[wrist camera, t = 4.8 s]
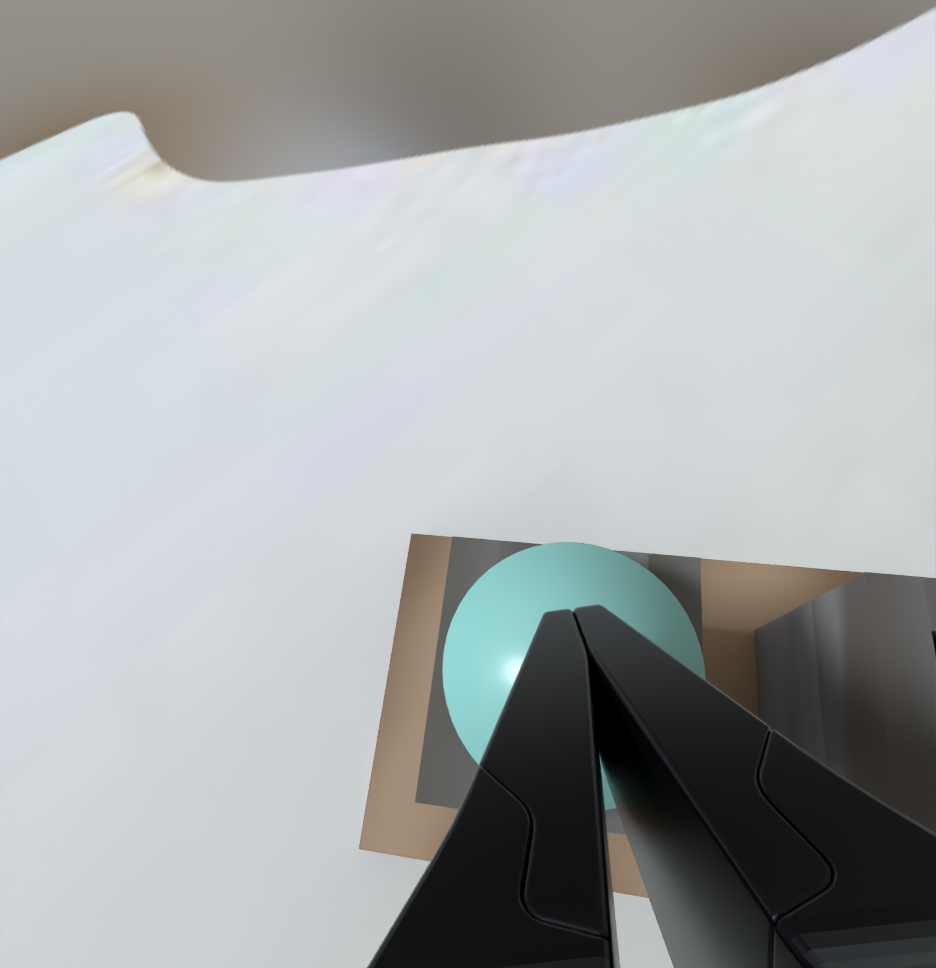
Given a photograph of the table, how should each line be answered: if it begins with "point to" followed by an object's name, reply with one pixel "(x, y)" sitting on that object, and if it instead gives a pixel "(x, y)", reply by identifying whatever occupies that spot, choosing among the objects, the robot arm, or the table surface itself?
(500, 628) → the teal button
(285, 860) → the table surface
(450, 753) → the button stand
